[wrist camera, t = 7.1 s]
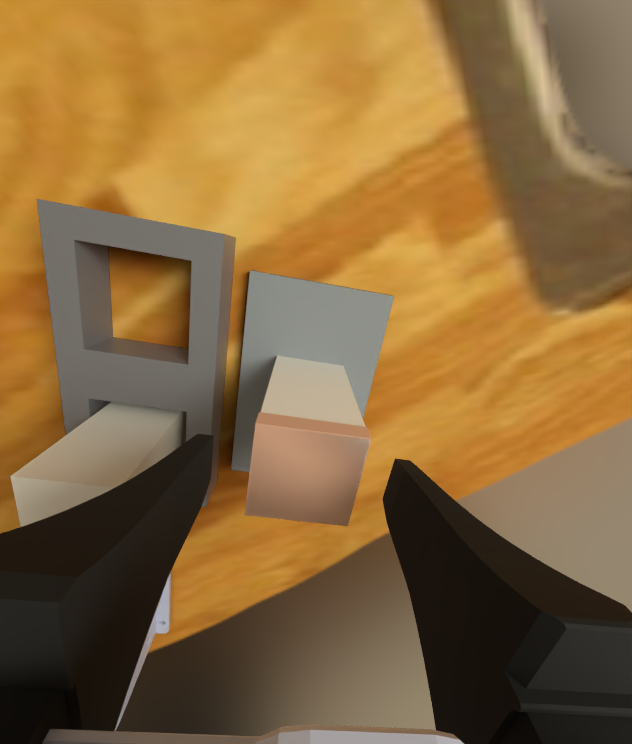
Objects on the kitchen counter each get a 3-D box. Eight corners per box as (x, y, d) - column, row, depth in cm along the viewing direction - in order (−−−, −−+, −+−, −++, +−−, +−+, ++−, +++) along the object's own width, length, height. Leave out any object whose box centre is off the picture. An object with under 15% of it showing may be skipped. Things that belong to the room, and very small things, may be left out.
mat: (345, 477, 22) (346, 483, 21) (233, 464, 21) (231, 469, 21) (391, 295, 18) (394, 296, 17) (251, 270, 17) (249, 270, 16)
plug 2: (331, 424, 20) (347, 525, 12) (268, 415, 19) (244, 515, 12) (344, 365, 18) (371, 438, 11) (276, 354, 18) (255, 422, 10)
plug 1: (189, 452, 21) (124, 561, 13) (128, 444, 20) (25, 552, 13) (191, 400, 19) (119, 488, 12) (126, 391, 19) (10, 476, 12)
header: (217, 480, 22) (206, 506, 19) (98, 466, 21) (72, 492, 19) (235, 237, 16) (224, 234, 14) (77, 208, 16) (36, 198, 13)
